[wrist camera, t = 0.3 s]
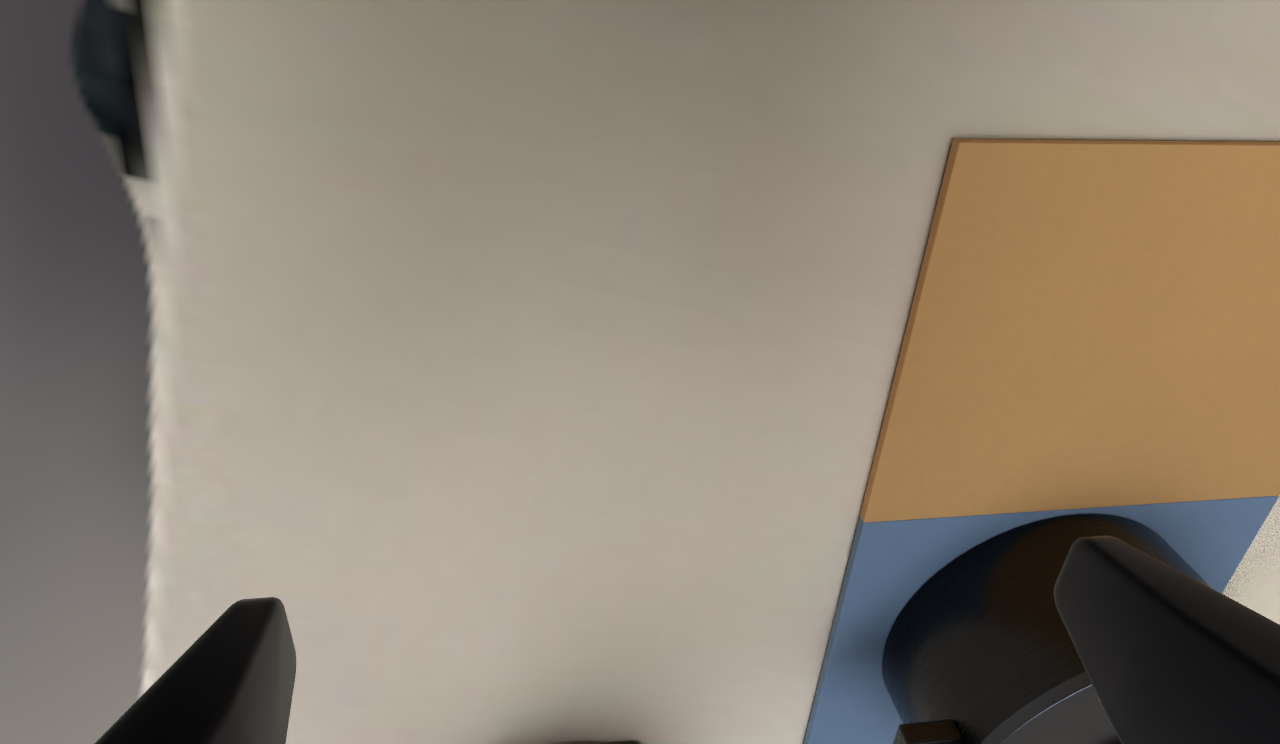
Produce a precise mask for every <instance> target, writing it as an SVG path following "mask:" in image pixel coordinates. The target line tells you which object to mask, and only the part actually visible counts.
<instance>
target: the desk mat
mask: <svg viewBox="0 0 1280 744" xmlns="http://www.w3.org/2000/svg"><path fill="white" fill-rule="evenodd" d="M1279 495H1280V142H1235V141H1132V140H1030V139H953V141H952V145H951V149H950V153H949V158H948V162H947V166H946V170H945V174H944V178H943V182H942V186H941V190H940V194H939V198H938V202H937V206H936V210H935V214H934V218H933V222H932V226H931V230H930V234H929V238H928V242H927V246H926V250H925V254H924V258H923V263H922V267H921V271H920V275H919V279H918V283H917V287H916V291H915V295H914V299H913V303H912V307H911V311H910V315H909V319H908V323H907V327H906V331H905V335H904V339H903V343H902V347H901V351H900V355H899V359H898V363H897V368H896V372H895V376H894V380H893V384H892V388H891V392H890V396H889V400H888V404H887V408H886V412H885V416H884V420H883V424H882V428H881V432H880V436H879V440H878V444H877V448H876V452H875V456H874V460H873V464H872V468H871V472H870V477H869V481H868V485H867V489H866V493H865V497H864V501H863V505H862V509H861V513H860V517H859V521H858V525H857V529H856V533H855V537H854V541H853V545H852V549H851V553H850V557H849V561H848V565H847V569H846V573H845V577H844V582H843V586H842V590H841V594H840V598H839V602H838V606H837V610H836V614H835V618H834V622H833V626H832V630H831V634H830V638H829V642H828V646H827V650H826V654H825V658H824V662H823V666H822V670H821V674H820V678H819V682H818V687H817V691H816V695H815V699H814V703H813V707H812V711H811V715H810V719H809V723H808V727H807V731H806V735H805V739H804V743H803V744H893V741H894V738H895V735H896V732H897V729H898V726H899V725H900V724H903V722H902V720H901V718H900V716H899V714H898V712H897V710H896V708H895V706H894V704H893V701H892V699H891V697H890V695H889V693H888V691H887V688H886V686H885V684H884V679H883V674H882V656H883V651H884V646H885V642H886V640H887V637H888V634H889V632H890V629H891V627H892V626H893V624H894V622H895V620H896V618H897V617H898V615H899V613H900V612H901V611H902V609H903V608H904V607H905V605H906V604H907V603H908V601H909V600H910V599H911V598H912V596H913V595H914V594H915V593H916V592H917V591H918V590H919V589H920V588H921V587H922V586H923V585H924V584H925V583H926V582H927V581H928V580H929V579H930V578H931V577H933V576H934V575H935V574H936V573H937V572H938V571H939V570H941V569H942V568H943V567H945V566H946V565H948V564H949V563H950V562H952V561H953V560H954V559H956V558H957V557H959V556H960V555H962V554H964V553H965V552H967V551H968V550H970V549H972V548H973V547H975V546H977V545H979V544H981V543H983V542H985V541H987V540H989V539H991V538H993V537H995V536H997V535H999V534H1002V533H1004V532H1007V531H1009V530H1012V529H1014V528H1017V527H1020V526H1023V525H1026V524H1029V523H1033V522H1036V521H1040V520H1044V519H1049V518H1054V517H1058V516H1066V515H1075V514H1104V515H1113V516H1119V517H1123V518H1127V519H1131V520H1134V521H1136V522H1138V523H1141V524H1143V525H1145V526H1147V527H1149V528H1150V529H1152V530H1153V531H1155V532H1156V533H1158V534H1159V535H1160V536H1161V537H1162V538H1163V539H1164V540H1165V541H1166V542H1167V543H1168V544H1169V545H1170V546H1171V547H1172V548H1173V549H1174V550H1175V551H1176V552H1177V553H1178V554H1179V555H1180V556H1181V557H1182V558H1183V559H1184V560H1185V561H1186V562H1187V563H1188V564H1189V565H1190V566H1191V567H1192V568H1193V569H1194V570H1195V571H1196V572H1197V573H1198V574H1199V575H1200V576H1201V577H1202V578H1203V579H1204V580H1205V581H1206V582H1207V583H1208V584H1209V585H1210V586H1211V587H1212V588H1213V589H1214V590H1215V591H1217V592H1219V593H1221V594H1222V592H1223V590H1224V588H1225V587H1226V585H1227V583H1228V582H1229V580H1230V578H1231V577H1232V575H1233V573H1234V572H1235V570H1236V568H1237V566H1238V565H1239V563H1240V561H1241V560H1242V558H1243V556H1244V555H1245V553H1246V551H1247V550H1248V548H1249V546H1250V544H1251V543H1252V541H1253V539H1254V538H1255V536H1256V534H1257V533H1258V531H1259V529H1260V527H1261V526H1262V524H1263V522H1264V521H1265V519H1266V517H1267V516H1268V514H1269V512H1270V511H1271V509H1272V507H1273V505H1274V504H1275V502H1276V500H1277V499H1278V497H1279Z"/></svg>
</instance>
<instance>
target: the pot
mask: <svg viewBox="0 0 1280 744" xmlns="http://www.w3.org/2000/svg"><path fill="white" fill-rule="evenodd" d="M1095 536H1112V537H1116V538H1118V539H1120V540H1122V541H1124V542H1126V543H1128V544H1129V545H1131V546H1133V547H1135V548H1137V549H1139V550H1141V551H1143V552H1144V553H1146V554H1148V555H1150V556H1152V557H1154V558H1156V559H1157V560H1159V561H1161V562H1163V563H1165V564H1167V565H1169V566H1171V567H1172V568H1174V569H1176V570H1178V571H1180V572H1182V573H1184V574H1185V575H1187V576H1189V577H1191V578H1193V579H1195V580H1197V581H1199V582H1200V583H1202V584H1204V585H1206V586H1208V587H1210V588H1212V587H1211V586H1210V585H1209V584H1208V583H1207V582H1206V581H1205V580H1204V579H1203V578H1202V577H1201V576H1200V575H1199V574H1198V573H1197V572H1196V571H1195V570H1194V569H1193V568H1192V567H1191V566H1190V565H1189V564H1188V563H1187V562H1186V561H1185V560H1184V559H1183V558H1182V557H1181V556H1180V555H1179V554H1178V553H1177V552H1176V551H1175V550H1174V549H1173V548H1172V547H1171V546H1170V545H1169V544H1168V543H1167V542H1166V541H1165V540H1164V539H1163V538H1162V537H1161V536H1160V535H1159V534H1158V533H1156V532H1155V531H1153V530H1152V529H1150V528H1149V527H1147V526H1145V525H1143V524H1141V523H1138V522H1136V521H1134V520H1131V519H1127V518H1123V517H1119V516H1113V515H1104V514H1075V515H1066V516H1058V517H1054V518H1049V519H1044V520H1040V521H1036V522H1033V523H1029V524H1026V525H1023V526H1020V527H1017V528H1014V529H1012V530H1009V531H1007V532H1004V533H1002V534H999V535H997V536H995V537H993V538H991V539H989V540H987V541H985V542H983V543H981V544H979V545H977V546H975V547H973V548H972V549H970V550H968V551H967V552H965V553H964V554H962V555H960V556H959V557H957V558H956V559H954V560H953V561H952V562H950V563H949V564H948V565H946V566H945V567H943V568H942V569H941V570H939V571H938V572H937V573H936V574H935V575H934V576H933V577H931V578H930V579H929V580H928V581H927V582H926V583H925V584H924V585H923V586H922V587H921V588H920V589H919V590H918V591H917V592H916V593H915V594H914V595H913V596H912V598H911V599H910V600H909V601H908V603H907V604H906V605H905V607H904V608H903V609H902V611H901V612H900V613H899V615H898V617H897V618H896V620H895V622H894V624H893V626H892V627H891V629H890V632H889V634H888V637H887V640H886V642H885V646H884V651H883V656H882V674H883V679H884V684H885V686H886V688H887V691H888V693H889V695H890V697H891V699H892V701H893V704H894V706H895V708H896V710H897V712H898V714H899V716H900V718H901V720H902V722H903V724H900V725H899V726H898V729H897V732H896V735H895V738H894V741H893V744H1122V743H1121V741H1120V739H1119V737H1118V736H1117V734H1116V732H1115V730H1114V728H1113V727H1112V724H1111V722H1110V720H1109V718H1108V716H1107V714H1106V712H1105V710H1104V708H1103V706H1102V704H1101V702H1100V700H1099V698H1098V696H1097V694H1096V691H1095V689H1094V687H1093V685H1092V683H1091V681H1090V678H1089V676H1088V674H1087V672H1086V670H1085V668H1084V666H1083V663H1082V661H1081V659H1080V657H1079V655H1078V653H1077V651H1076V648H1075V646H1074V644H1073V642H1072V640H1071V638H1070V636H1069V633H1068V631H1067V629H1066V627H1065V625H1064V623H1063V620H1062V618H1061V616H1060V614H1059V612H1058V610H1057V607H1056V604H1055V600H1054V587H1055V584H1056V581H1057V579H1058V576H1059V574H1060V572H1061V569H1062V567H1063V565H1064V562H1065V560H1066V557H1067V555H1068V553H1069V550H1070V548H1071V546H1072V544H1073V543H1074V542H1075V541H1076V540H1078V539H1079V538H1083V537H1095ZM1212 589H1213V588H1212ZM1213 590H1214V589H1213Z"/></svg>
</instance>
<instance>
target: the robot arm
mask: <svg viewBox="0 0 1280 744" xmlns="http://www.w3.org/2000/svg"><path fill="white" fill-rule="evenodd" d="M1054 600H1055V604H1056V607H1057V610H1058V612H1059V614H1060V616H1061V618H1062V620H1063V623H1064V625H1065V627H1066V629H1067V631H1068V633H1069V636H1070V638H1071V640H1072V642H1073V644H1074V646H1075V648H1076V651H1077V653H1078V655H1079V657H1080V659H1081V661H1082V663H1083V666H1084V668H1085V670H1086V672H1087V674H1088V676H1089V678H1090V681H1091V683H1092V685H1093V687H1094V689H1095V691H1096V694H1097V696H1098V698H1099V700H1100V702H1101V704H1102V706H1103V708H1104V710H1105V712H1106V714H1107V716H1108V718H1109V720H1110V722H1111V724H1112V727H1113V728H1114V730H1115V732H1116V734H1117V736H1118V737H1119V739H1120V741H1121V743H1122V744H1280V625H1279V624H1277V623H1275V622H1273V621H1271V620H1269V619H1268V618H1266V617H1264V616H1262V615H1260V614H1258V613H1256V612H1255V611H1253V610H1251V609H1249V608H1247V607H1245V606H1243V605H1241V604H1240V603H1238V602H1236V601H1234V600H1232V599H1230V598H1228V597H1227V596H1225V595H1223V594H1221V593H1219V592H1217V591H1215V590H1213V589H1212V588H1210V587H1208V586H1206V585H1204V584H1202V583H1200V582H1199V581H1197V580H1195V579H1193V578H1191V577H1189V576H1187V575H1185V574H1184V573H1182V572H1180V571H1178V570H1176V569H1174V568H1172V567H1171V566H1169V565H1167V564H1165V563H1163V562H1161V561H1159V560H1157V559H1156V558H1154V557H1152V556H1150V555H1148V554H1146V553H1144V552H1143V551H1141V550H1139V549H1137V548H1135V547H1133V546H1131V545H1129V544H1128V543H1126V542H1124V541H1122V540H1120V539H1118V538H1116V537H1112V536H1095V537H1083V538H1079V539H1078V540H1076V541H1075V542H1074V543H1073V544H1072V546H1071V548H1070V550H1069V553H1068V555H1067V557H1066V560H1065V562H1064V565H1063V567H1062V569H1061V572H1060V574H1059V576H1058V579H1057V581H1056V584H1055V587H1054ZM295 674H296V652H295V647H294V643H293V640H292V636H291V632H290V628H289V624H288V620H287V616H286V612H285V608H284V605H283V604H282V602H281V601H280V599H278V598H274V597H269V598H256V599H243V600H240V601H237V602H236V603H234V604H233V605H232V606H230V607H229V608H228V609H227V610H226V611H225V612H224V613H223V614H222V615H221V616H220V617H219V618H218V619H217V620H216V621H215V623H214V624H213V625H212V626H211V627H210V628H209V629H208V630H207V631H206V632H205V633H204V634H203V635H202V636H201V637H200V638H199V639H198V640H197V641H196V642H195V643H194V644H193V645H192V646H191V647H190V648H189V649H188V650H187V651H186V652H185V653H184V654H183V655H182V656H181V657H180V658H179V659H178V660H177V661H176V662H175V663H174V664H173V665H172V666H171V667H170V668H169V669H168V670H167V671H166V672H165V673H164V674H163V675H162V676H161V677H160V678H159V679H158V680H157V681H156V682H155V683H154V684H153V685H152V686H151V687H150V688H149V689H148V690H147V691H146V692H145V693H144V694H143V695H142V696H141V697H140V698H139V699H138V700H137V701H136V702H135V703H134V704H133V705H132V706H131V707H130V708H129V709H128V711H126V712H125V714H124V715H123V716H121V717H120V718H119V720H118V721H117V722H116V723H115V724H114V725H113V726H112V727H111V728H110V729H109V730H108V731H107V732H106V733H105V734H104V735H103V736H102V737H101V738H100V739H99V740H98V741H97V742H96V743H95V744H285V742H286V736H287V729H288V722H289V715H290V708H291V702H292V695H293V688H294V681H295Z"/></svg>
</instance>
